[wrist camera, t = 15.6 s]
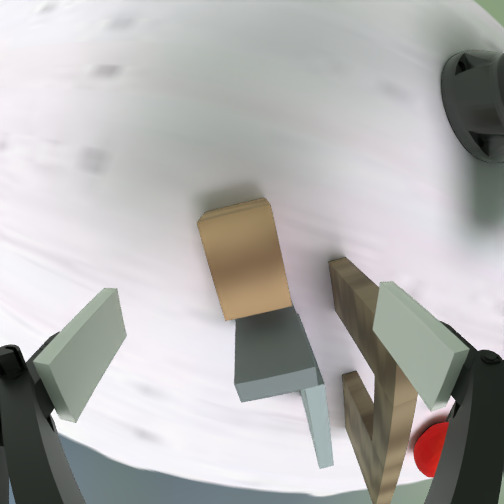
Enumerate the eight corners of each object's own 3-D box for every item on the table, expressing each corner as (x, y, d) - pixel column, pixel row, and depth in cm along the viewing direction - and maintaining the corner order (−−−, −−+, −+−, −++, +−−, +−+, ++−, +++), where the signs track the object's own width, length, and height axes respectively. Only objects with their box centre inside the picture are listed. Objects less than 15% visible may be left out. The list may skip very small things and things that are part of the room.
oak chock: (283, 281, 32) (292, 305, 26) (228, 293, 32) (225, 320, 26) (264, 197, 29) (270, 204, 23) (205, 211, 29) (196, 222, 24)
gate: (235, 311, 32) (234, 384, 20) (295, 297, 32) (321, 364, 20) (265, 406, 36) (272, 478, 24) (313, 395, 36) (333, 465, 24)
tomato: (406, 459, 44) (423, 494, 34) (407, 429, 40) (429, 469, 30) (451, 435, 43) (471, 466, 33) (458, 401, 40) (484, 435, 30)
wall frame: (328, 261, 31) (397, 342, 16) (345, 257, 31) (424, 331, 16) (345, 428, 39) (374, 509, 23) (357, 424, 39) (389, 504, 23)
